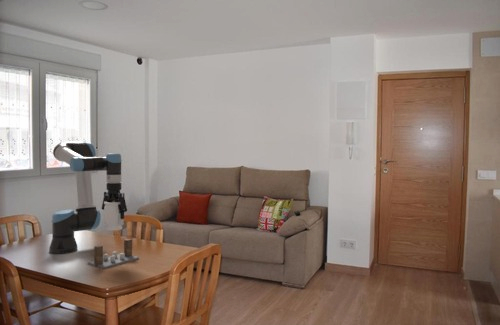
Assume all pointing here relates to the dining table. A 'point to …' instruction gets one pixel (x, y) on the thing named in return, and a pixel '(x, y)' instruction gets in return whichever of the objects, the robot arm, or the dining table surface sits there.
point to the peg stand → (114, 260)
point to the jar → (112, 216)
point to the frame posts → (99, 252)
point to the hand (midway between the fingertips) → (114, 224)
